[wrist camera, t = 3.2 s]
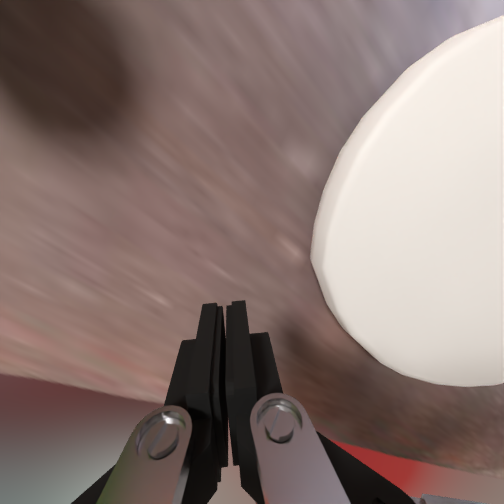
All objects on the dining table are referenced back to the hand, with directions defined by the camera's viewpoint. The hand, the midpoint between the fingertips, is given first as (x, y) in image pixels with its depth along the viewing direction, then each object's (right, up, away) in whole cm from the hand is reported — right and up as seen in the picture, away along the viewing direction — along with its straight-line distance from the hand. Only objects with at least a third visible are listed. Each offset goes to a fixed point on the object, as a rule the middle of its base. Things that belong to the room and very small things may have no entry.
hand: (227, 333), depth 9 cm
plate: (+19, +6, +11) cm, 23 cm away
